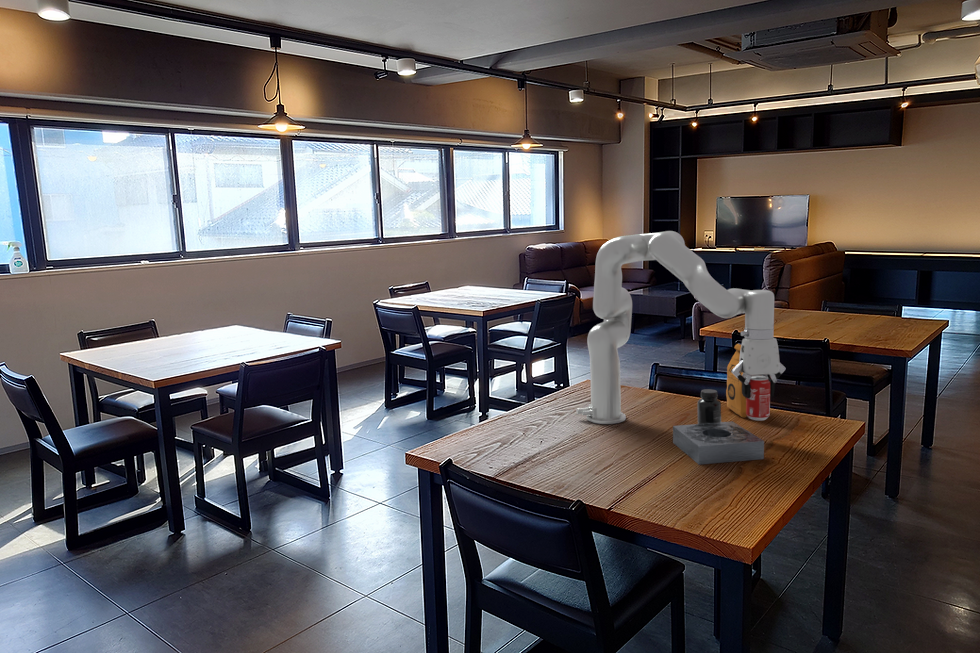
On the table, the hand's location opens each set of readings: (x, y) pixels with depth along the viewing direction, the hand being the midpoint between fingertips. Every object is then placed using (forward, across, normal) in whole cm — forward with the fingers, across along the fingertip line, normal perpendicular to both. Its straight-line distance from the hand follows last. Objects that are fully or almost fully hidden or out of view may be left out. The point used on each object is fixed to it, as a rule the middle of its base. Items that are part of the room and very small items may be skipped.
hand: (758, 395), depth 195 cm
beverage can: (+7, 0, 0) cm, 7 cm away
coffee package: (+13, +9, +25) cm, 30 cm away
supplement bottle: (+13, -9, +12) cm, 20 cm away
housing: (+13, -15, -6) cm, 21 cm away
